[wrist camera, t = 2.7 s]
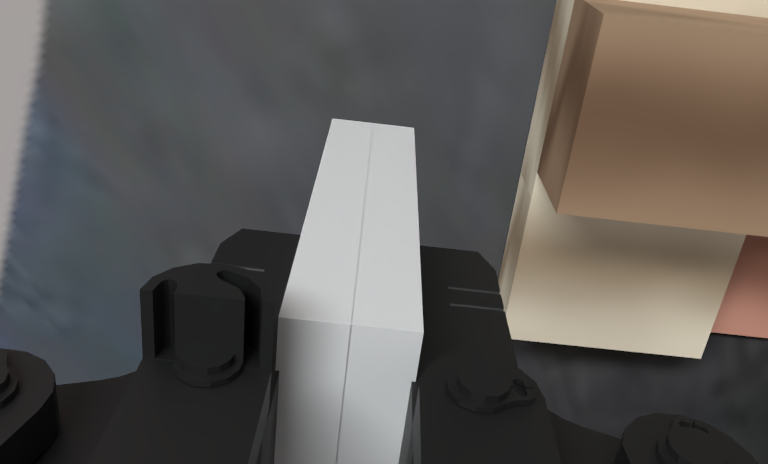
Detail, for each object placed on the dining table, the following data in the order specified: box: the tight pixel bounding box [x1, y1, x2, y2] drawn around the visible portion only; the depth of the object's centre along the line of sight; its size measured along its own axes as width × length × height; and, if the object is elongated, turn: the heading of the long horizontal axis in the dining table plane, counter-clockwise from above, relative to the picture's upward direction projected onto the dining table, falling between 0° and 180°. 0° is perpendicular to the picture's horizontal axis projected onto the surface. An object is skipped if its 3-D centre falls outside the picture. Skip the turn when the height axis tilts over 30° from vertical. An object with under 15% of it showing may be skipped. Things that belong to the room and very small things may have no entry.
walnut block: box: [537, 0, 768, 237], centre depth 23 cm, size 6×8×4 cm
